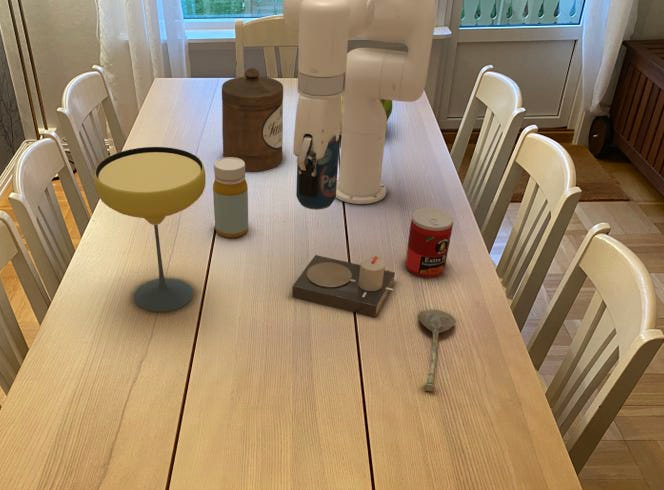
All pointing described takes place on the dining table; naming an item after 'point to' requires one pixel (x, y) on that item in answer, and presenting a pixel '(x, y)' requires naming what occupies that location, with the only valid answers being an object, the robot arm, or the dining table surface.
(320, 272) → the burner ring
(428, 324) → the soupspoon
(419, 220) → the canned food
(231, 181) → the bottle
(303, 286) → the hob
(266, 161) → the wooden container
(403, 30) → the robot arm
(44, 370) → the dining table surface
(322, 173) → the soda can
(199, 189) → the cocktail glass
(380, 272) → the hob knob
